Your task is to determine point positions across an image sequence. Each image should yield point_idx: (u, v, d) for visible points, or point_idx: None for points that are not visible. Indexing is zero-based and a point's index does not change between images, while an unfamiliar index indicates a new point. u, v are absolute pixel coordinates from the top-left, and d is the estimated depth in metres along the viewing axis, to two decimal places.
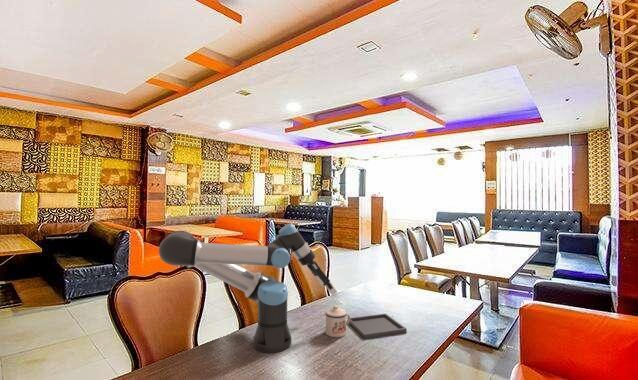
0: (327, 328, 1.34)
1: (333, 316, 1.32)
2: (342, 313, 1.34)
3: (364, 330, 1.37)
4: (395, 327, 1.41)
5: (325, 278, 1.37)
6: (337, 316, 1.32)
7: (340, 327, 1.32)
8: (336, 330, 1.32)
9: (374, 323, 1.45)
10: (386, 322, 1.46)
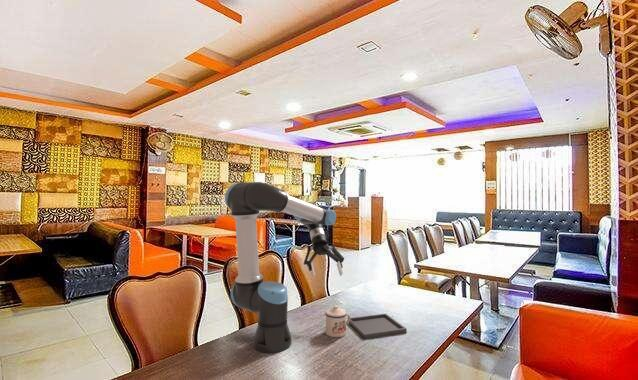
0: (327, 328, 1.34)
1: (333, 316, 1.32)
2: (342, 313, 1.34)
3: (364, 330, 1.37)
4: (395, 327, 1.41)
5: None
6: (337, 316, 1.32)
7: (340, 327, 1.32)
8: (336, 330, 1.32)
9: (374, 323, 1.45)
10: (386, 322, 1.46)
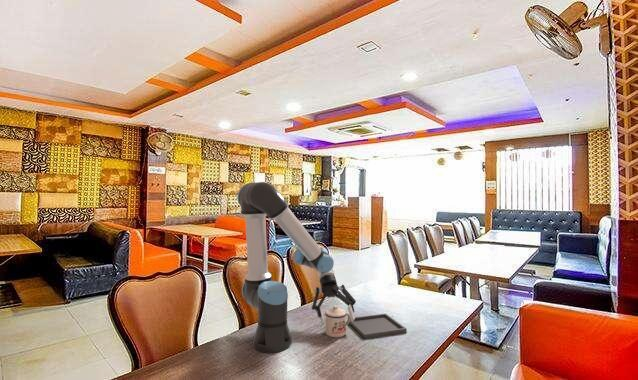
0: (327, 328, 1.34)
1: (333, 316, 1.32)
2: (342, 313, 1.33)
3: (364, 330, 1.37)
4: (395, 327, 1.41)
5: None
6: (337, 316, 1.32)
7: (340, 327, 1.32)
8: (335, 330, 1.32)
9: (374, 323, 1.45)
10: (386, 322, 1.46)
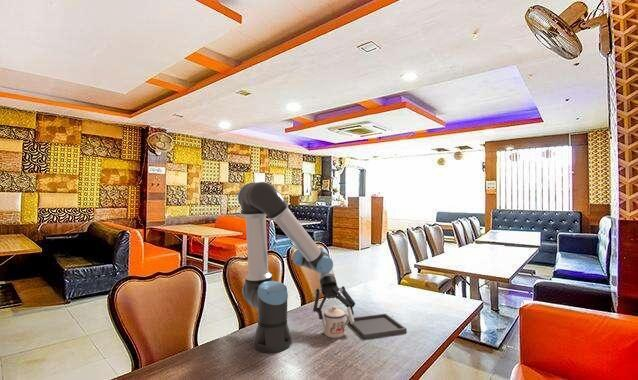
0: (325, 328, 1.33)
1: (331, 316, 1.31)
2: (340, 314, 1.33)
3: (364, 330, 1.37)
4: (395, 327, 1.41)
5: None
6: (335, 317, 1.31)
7: (338, 328, 1.31)
8: (334, 330, 1.31)
9: (374, 323, 1.45)
10: (386, 322, 1.46)
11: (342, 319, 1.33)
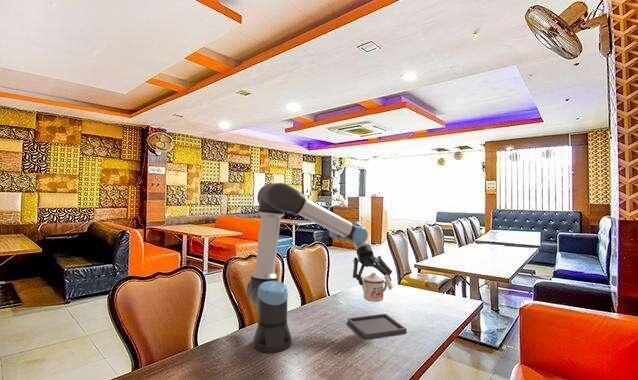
0: (365, 293, 1.39)
1: (372, 281, 1.37)
2: (380, 279, 1.39)
3: (364, 330, 1.37)
4: (395, 327, 1.41)
5: None
6: (376, 281, 1.37)
7: (378, 292, 1.37)
8: (374, 294, 1.37)
9: (374, 323, 1.45)
10: (386, 322, 1.46)
11: (382, 284, 1.39)
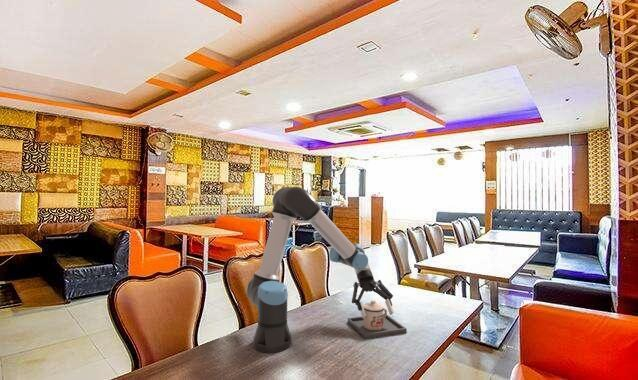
0: (365, 322, 1.39)
1: (371, 310, 1.37)
2: (380, 307, 1.39)
3: (364, 330, 1.37)
4: (395, 327, 1.41)
5: None
6: (375, 310, 1.37)
7: (378, 321, 1.37)
8: (374, 323, 1.37)
9: None
10: (386, 322, 1.46)
11: (381, 313, 1.38)
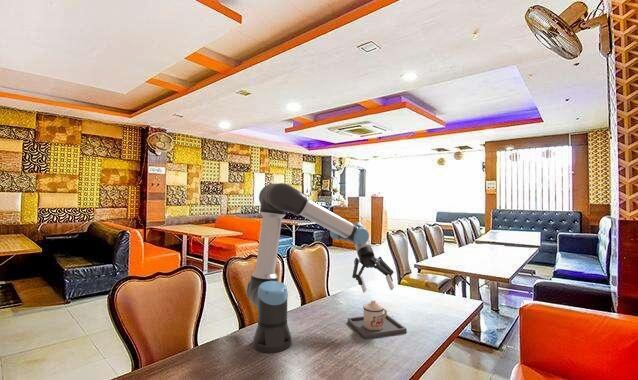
0: (365, 322, 1.39)
1: (371, 310, 1.37)
2: (380, 307, 1.39)
3: (364, 330, 1.37)
4: (395, 327, 1.41)
5: None
6: (375, 310, 1.37)
7: (378, 321, 1.37)
8: (374, 323, 1.37)
9: None
10: (386, 322, 1.46)
11: (381, 313, 1.38)
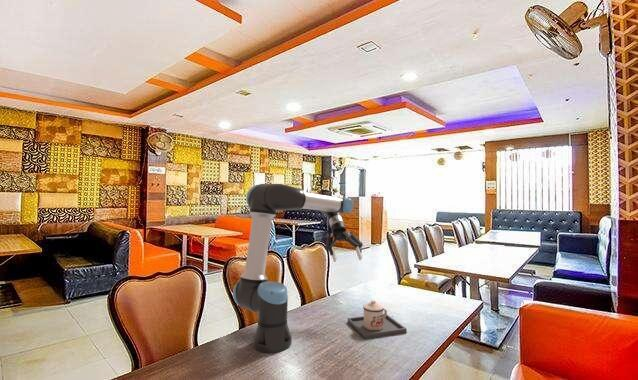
0: (365, 322, 1.39)
1: (371, 310, 1.37)
2: (380, 307, 1.39)
3: (364, 330, 1.37)
4: (395, 327, 1.41)
5: None
6: (375, 310, 1.37)
7: (378, 321, 1.37)
8: (374, 323, 1.37)
9: None
10: (386, 322, 1.46)
11: (381, 313, 1.38)
